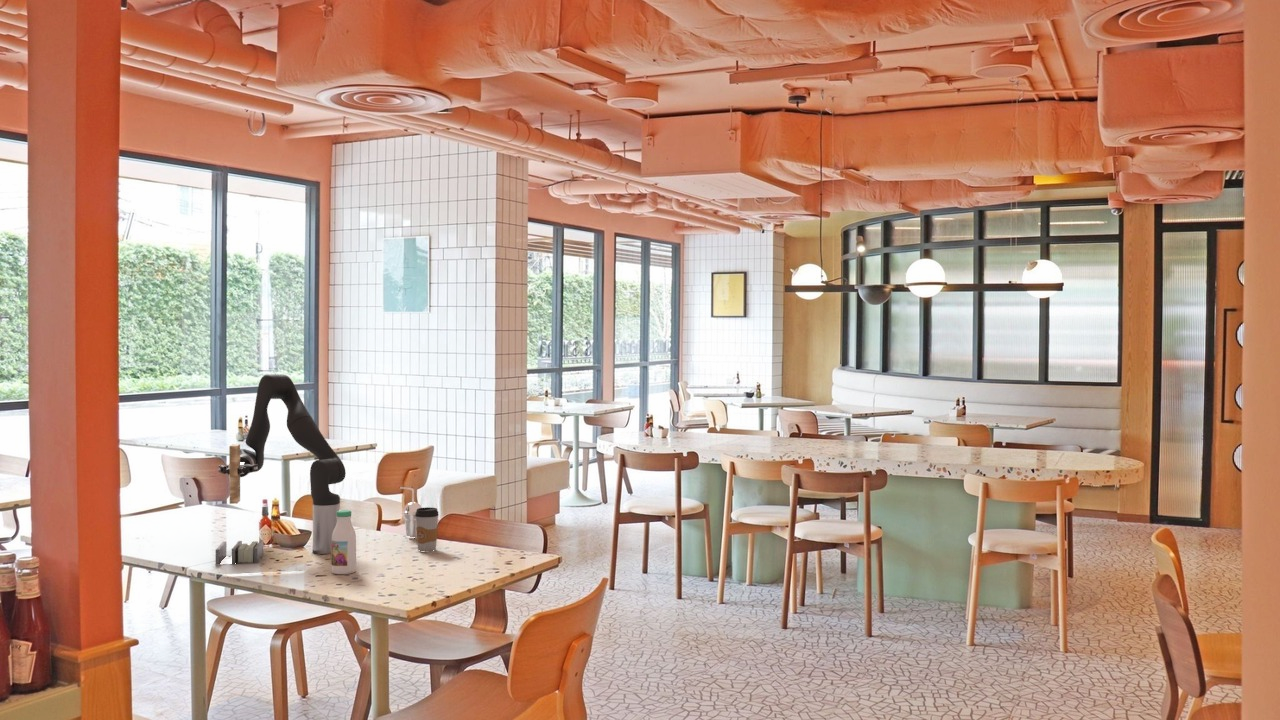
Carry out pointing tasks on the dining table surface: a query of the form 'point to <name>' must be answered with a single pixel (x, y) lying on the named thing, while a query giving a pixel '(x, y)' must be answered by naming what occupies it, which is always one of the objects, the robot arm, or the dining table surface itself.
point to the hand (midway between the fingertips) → (233, 471)
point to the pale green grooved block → (246, 552)
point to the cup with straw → (410, 515)
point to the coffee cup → (426, 528)
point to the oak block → (234, 473)
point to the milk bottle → (343, 545)
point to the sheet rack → (222, 553)
